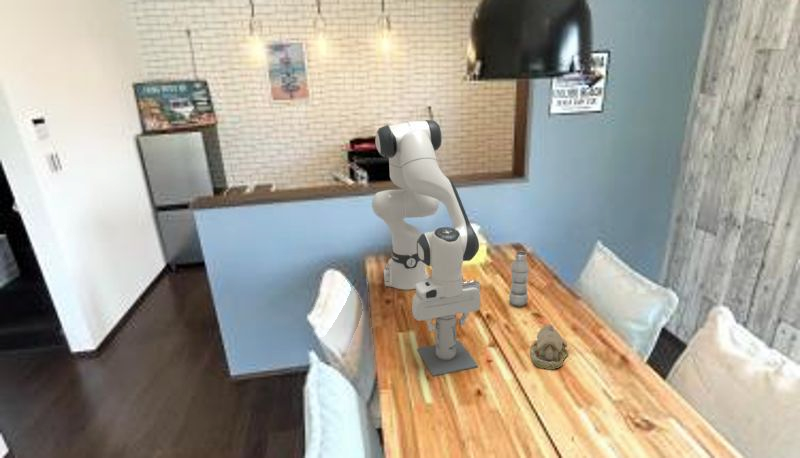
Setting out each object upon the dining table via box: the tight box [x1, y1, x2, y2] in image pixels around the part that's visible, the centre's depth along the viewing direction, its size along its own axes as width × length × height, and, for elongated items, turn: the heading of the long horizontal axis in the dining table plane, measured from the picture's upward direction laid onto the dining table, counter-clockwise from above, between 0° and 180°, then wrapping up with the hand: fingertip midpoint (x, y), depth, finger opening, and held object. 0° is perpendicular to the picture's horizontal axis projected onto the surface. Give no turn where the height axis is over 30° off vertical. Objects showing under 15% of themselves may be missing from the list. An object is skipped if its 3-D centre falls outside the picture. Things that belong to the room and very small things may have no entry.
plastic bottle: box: [508, 251, 530, 307], centre depth 166 cm, size 6×7×20 cm
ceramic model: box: [529, 323, 569, 370], centre depth 137 cm, size 14×11×10 cm
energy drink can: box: [434, 314, 457, 360], centre depth 136 cm, size 6×6×15 cm
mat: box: [416, 340, 479, 377], centre depth 138 cm, size 14×14×1 cm
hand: (446, 327), depth 135 cm, fingers open, 8 cm apart
